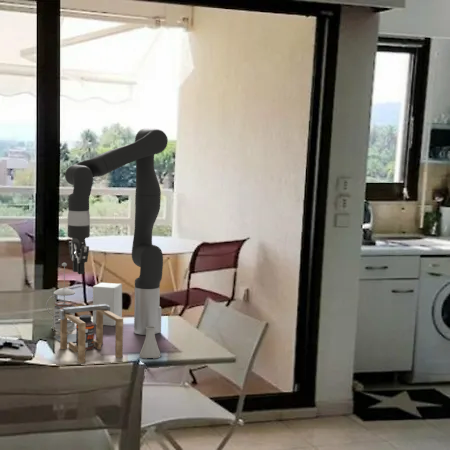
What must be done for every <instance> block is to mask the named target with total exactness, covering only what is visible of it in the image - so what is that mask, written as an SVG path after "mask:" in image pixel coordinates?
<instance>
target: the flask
mask: <svg viewBox="0 0 450 450" xmlns="http://www.w3.org/2000/svg"><path fill="white" fill-rule="evenodd" d="M146 329H147V333H146V335H145V338H144V341H143V345H142V346H141V347H142V348H141V350H140V353H139V356H138V357H139V358H141V359H147V358H153V359H158V358H160V357H161V356H162V354H161V351H160V349H159V346H158V342H157V339H156V334H155V327H154V326H147V327H146Z"/></svg>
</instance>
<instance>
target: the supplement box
mask: <svg viewBox="0 0 450 450" xmlns="http://www.w3.org/2000/svg"><path fill="white" fill-rule="evenodd" d="M98 304H106V305H108V306H110V312H112V313H114V314H115V315H117V316H119V317H121V318H123V283H114V282H113V283H112V282H99V283H97V284H95V285H93V286H92V305H98ZM92 322H93V323H94V325H96V310H95V311H92ZM103 326H111V327H115V326H116V321H115V320H113V319H111V318H110V317H108V316H106V315H104V314H103Z"/></svg>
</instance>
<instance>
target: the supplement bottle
mask: <svg viewBox="0 0 450 450" xmlns="http://www.w3.org/2000/svg"><path fill="white" fill-rule="evenodd" d="M78 318H79V319H80V320H82V321H83V322H85V323H86V329H85V351H89V350H93V349H94V339H95V324H94V323H93V320H92V315H90V314H81V315H79V317H78ZM75 326H76V330H75V334H76V343H75V345H77V346H78V325H77V324H75Z"/></svg>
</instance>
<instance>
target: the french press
mask: <svg viewBox="0 0 450 450" xmlns="http://www.w3.org/2000/svg"><path fill="white" fill-rule="evenodd" d="M67 265H68V263H66V262H63V263H61V266H62V267H63V287H62V288H61V287H60V288H58V289H56V290H55V291H53V295H51V296H50V297H48V299H47V300H46V302H45V309H46V312H47V313H48V314H49V315H51V316H52V317H53V318H52V321H53V322H52V325H53V326H54V327H55V330H56V332H60V310H62V308H67V307H76V306H75V305H74V304H75V303H74V301H72V300H65V298H66V297H65V296H74V295H75V294H76V291H75V290H73V289H71V288H70V287H69V288H68V287H66V285H65V284H66V283H65V281H66V277H65V276H66V275H65V274H66V273H65V272H66V268H65V267H67ZM56 296H63V300H58V301H55V302H54V305H55V306H54V307H53V312H51V311H50V309H49V305H48V304H49V303H48V302H49V300H50V299H51V298H52V300H56V299H55V298H56ZM70 314H72V315H74V316H75V314H76V313H70ZM75 317H76V316H75ZM53 326H52V327H53ZM75 329H76V323H74V322H72V321H71V320H69V319H67V332H72V330H73V331H76V330H75Z"/></svg>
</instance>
